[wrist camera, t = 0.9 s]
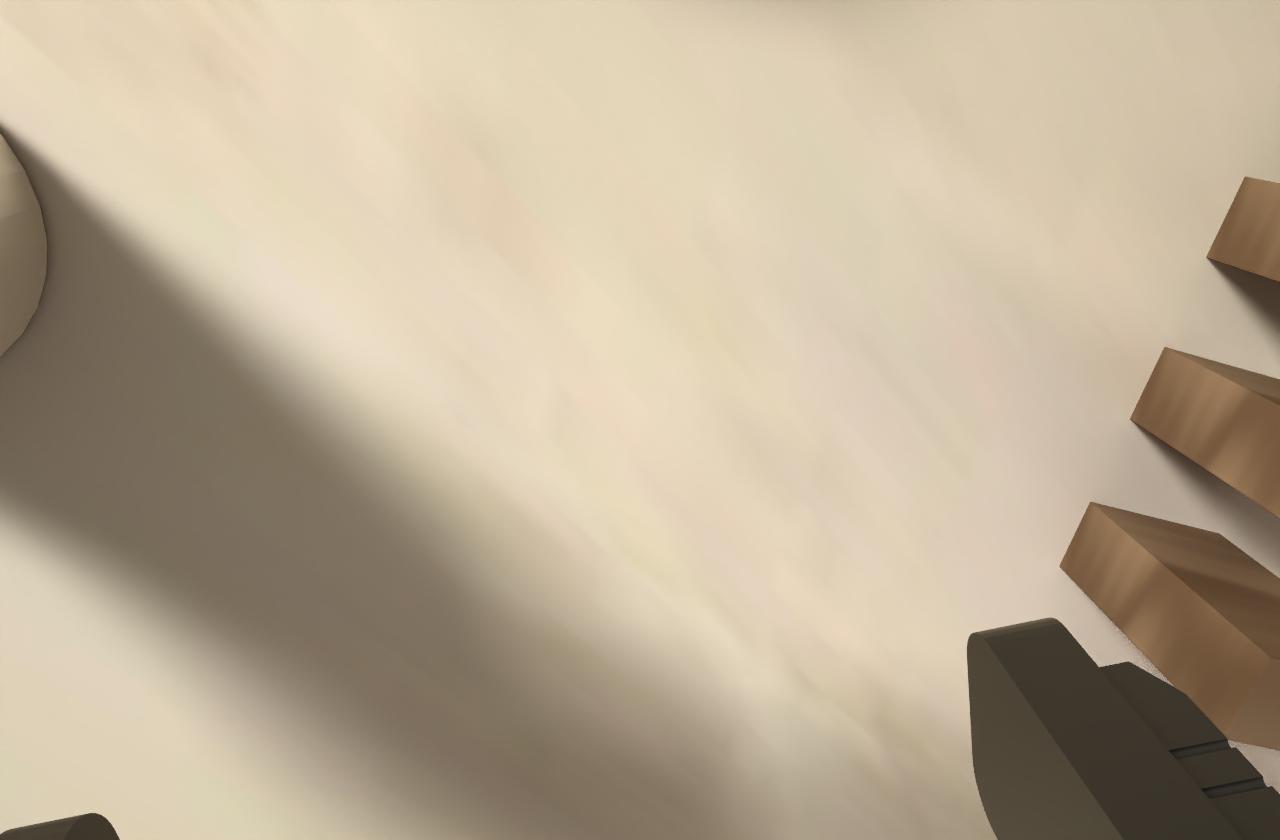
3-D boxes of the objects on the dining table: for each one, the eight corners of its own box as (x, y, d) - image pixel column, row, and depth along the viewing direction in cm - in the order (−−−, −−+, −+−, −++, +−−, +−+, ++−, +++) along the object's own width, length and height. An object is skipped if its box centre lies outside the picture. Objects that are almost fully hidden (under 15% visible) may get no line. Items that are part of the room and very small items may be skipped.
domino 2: (1186, 596, 35) (1385, 772, 27) (1059, 566, 34) (1224, 739, 26) (1219, 533, 34) (1436, 695, 26) (1090, 501, 33) (1271, 658, 25)
